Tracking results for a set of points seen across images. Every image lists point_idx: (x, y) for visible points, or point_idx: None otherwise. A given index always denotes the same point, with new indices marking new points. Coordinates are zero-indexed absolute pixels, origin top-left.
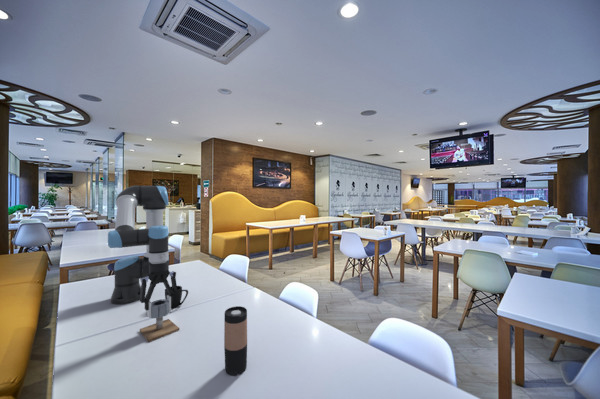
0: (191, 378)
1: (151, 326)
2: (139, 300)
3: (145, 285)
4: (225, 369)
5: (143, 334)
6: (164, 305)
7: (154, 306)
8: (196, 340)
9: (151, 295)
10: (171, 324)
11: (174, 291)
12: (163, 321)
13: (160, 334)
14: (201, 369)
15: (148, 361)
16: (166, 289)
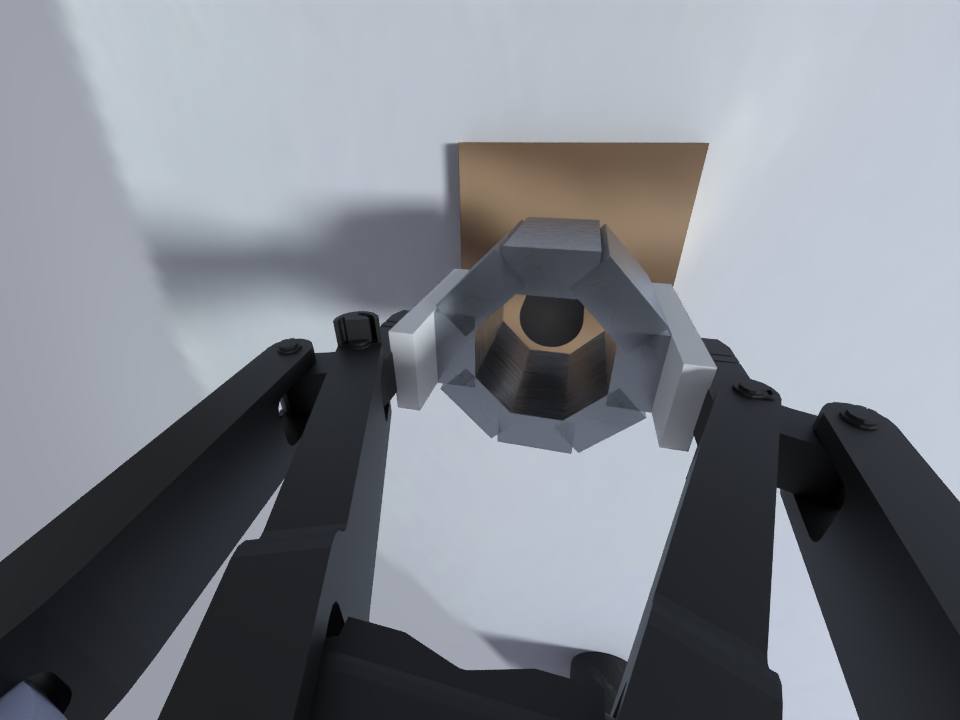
0: (495, 607)
1: (537, 175)
2: (273, 352)
3: (124, 667)
4: (573, 665)
5: (462, 242)
6: (556, 444)
7: (463, 407)
8: (636, 504)
9: (384, 471)
10: (653, 273)
11: (788, 502)
12: (646, 160)
13: (531, 344)
14: (535, 608)
15: (426, 463)
16: (702, 441)
